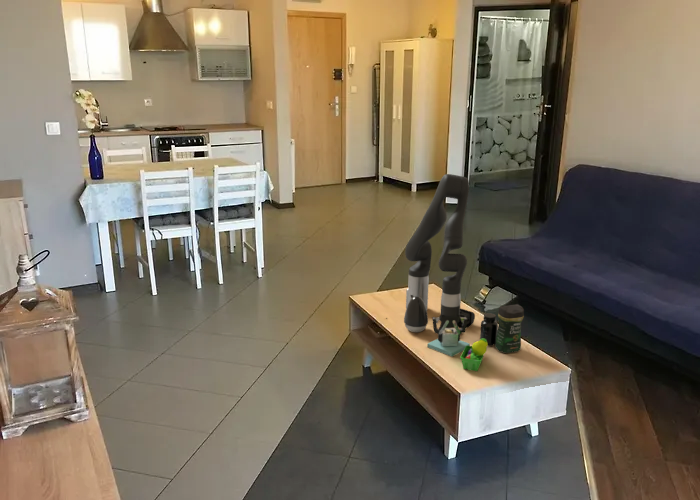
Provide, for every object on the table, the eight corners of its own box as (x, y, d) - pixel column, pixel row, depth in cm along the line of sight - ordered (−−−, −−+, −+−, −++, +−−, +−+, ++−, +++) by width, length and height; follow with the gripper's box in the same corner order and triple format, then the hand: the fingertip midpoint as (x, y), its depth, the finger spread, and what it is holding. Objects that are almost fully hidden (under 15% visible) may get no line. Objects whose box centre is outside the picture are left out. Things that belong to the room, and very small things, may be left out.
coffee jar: (503, 355, 226) (506, 311, 221) (491, 347, 233) (495, 303, 228) (524, 351, 229) (528, 307, 224) (512, 343, 236) (516, 300, 231)
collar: (440, 339, 235) (440, 328, 234) (454, 339, 235) (455, 328, 234) (442, 346, 229) (442, 334, 228) (457, 346, 229) (458, 334, 228)
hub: (427, 347, 233) (427, 331, 231) (445, 338, 241) (445, 322, 239) (452, 356, 225) (453, 340, 223) (469, 347, 233) (470, 331, 231)
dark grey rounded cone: (420, 323, 255) (421, 291, 251) (431, 332, 246) (433, 299, 242) (399, 326, 252) (400, 294, 248) (410, 336, 243) (411, 302, 238)
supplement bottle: (485, 337, 242) (487, 310, 238) (500, 342, 237) (502, 315, 234) (476, 342, 237) (478, 315, 234) (490, 347, 232) (492, 320, 229)
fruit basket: (465, 357, 225) (467, 330, 221) (488, 361, 221) (490, 333, 218) (459, 370, 214) (460, 341, 211) (483, 374, 211) (485, 346, 208)
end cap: (474, 324, 254) (475, 310, 252) (465, 329, 249) (466, 315, 248) (455, 318, 261) (456, 304, 259) (446, 323, 256) (447, 308, 254)
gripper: (467, 299, 231) (464, 337, 236) (431, 299, 231) (429, 338, 236) (470, 306, 224) (468, 346, 229) (433, 306, 224) (432, 346, 229)
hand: (448, 341), depth 232 cm, fingers closed on collar, 6 cm apart
